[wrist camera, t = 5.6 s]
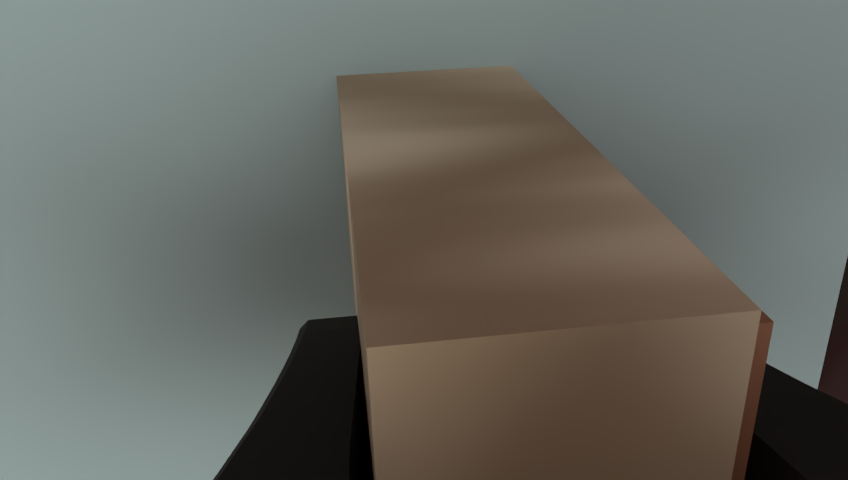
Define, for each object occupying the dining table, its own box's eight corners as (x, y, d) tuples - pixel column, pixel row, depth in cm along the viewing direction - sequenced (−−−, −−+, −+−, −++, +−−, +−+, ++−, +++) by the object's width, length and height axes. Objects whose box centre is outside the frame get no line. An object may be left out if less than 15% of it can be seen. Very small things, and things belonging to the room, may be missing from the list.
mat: (918, -242, 11) (962, -250, 10) (762, 513, 17) (783, 541, 16) (-420, -215, 9) (-481, -223, 8) (-65, 614, 15) (-84, 650, 14)
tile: (531, 64, 11) (806, 306, 5) (520, 447, 14) (683, 900, 8) (336, 76, 11) (367, 348, 5) (366, 464, 14) (410, 949, 8)
